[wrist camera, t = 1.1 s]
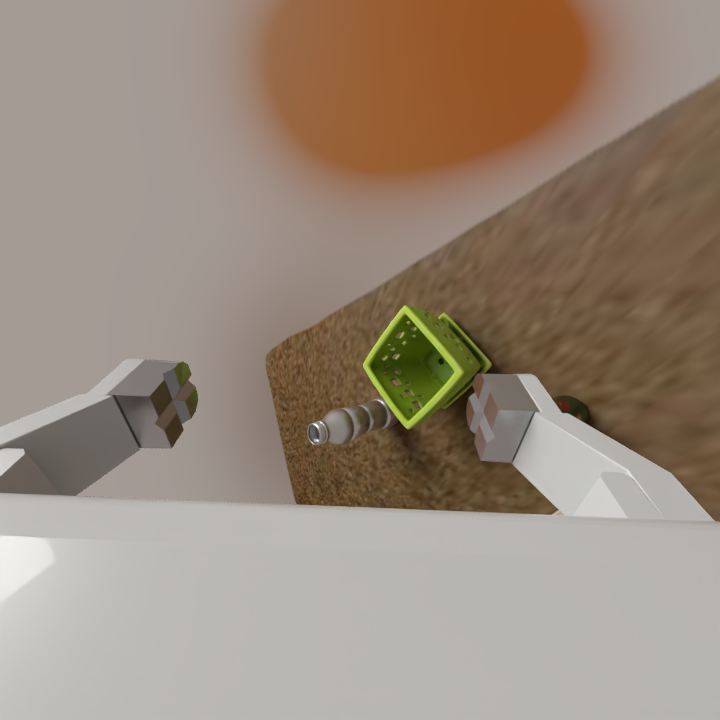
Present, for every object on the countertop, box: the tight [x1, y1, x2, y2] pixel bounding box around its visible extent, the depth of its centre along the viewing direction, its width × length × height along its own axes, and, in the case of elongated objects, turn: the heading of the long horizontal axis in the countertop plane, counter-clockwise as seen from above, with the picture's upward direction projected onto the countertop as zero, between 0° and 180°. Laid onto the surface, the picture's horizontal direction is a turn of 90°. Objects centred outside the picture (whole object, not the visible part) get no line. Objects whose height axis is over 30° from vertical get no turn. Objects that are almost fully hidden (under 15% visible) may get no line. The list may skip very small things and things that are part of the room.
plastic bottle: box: [307, 396, 399, 445], centre depth 61 cm, size 6×7×20 cm
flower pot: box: [363, 305, 492, 429], centre depth 53 cm, size 14×14×13 cm
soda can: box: [552, 396, 589, 424], centre depth 41 cm, size 5×5×12 cm
